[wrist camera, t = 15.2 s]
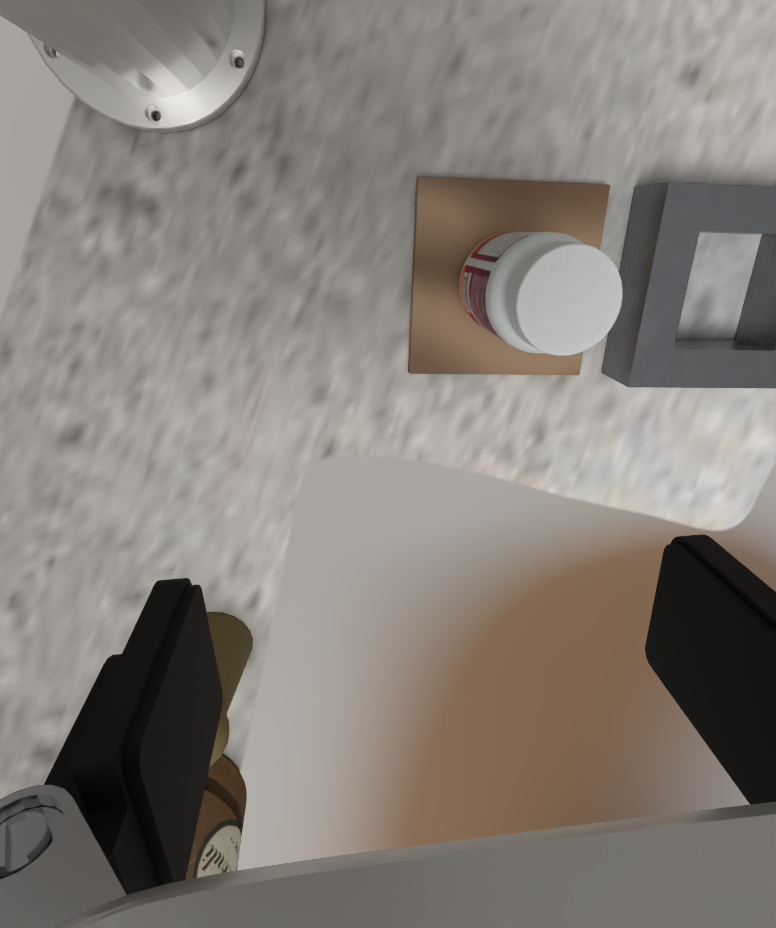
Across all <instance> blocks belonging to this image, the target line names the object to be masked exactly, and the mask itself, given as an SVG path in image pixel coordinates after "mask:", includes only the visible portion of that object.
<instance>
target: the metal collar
mask: <svg viewBox="0 0 776 928" xmlns="http://www.w3.org/2000/svg"><path fill="white" fill-rule="evenodd" d="M699 232H711V233H740V234H763V235H762V239H761V242H760V246H759V250H758V254H757V257H756V261H755V265H754V269H753V273H752V276H751V280H750V284H749V288H748V291H747V295H746V299H745V303H744V307H743V310H742V314H741V318H740V322H739V325H738V329H737V333H736V337H735V340H727V339H676V334H677V330H678V325H679V321H680V316H681V312H682V308H683V303H684V299H685V294H686V290H687V285H688V281H689V276H690V272H691V267H692V263H693V259H694V254H695V250H696V245H697V241H698V236H699ZM619 274H620V277H621V281H622V293H623V295H622V303H621V308H620V311H619V314H618V316H617V319H616V321H615V323H614V324H613V326H612V328H611V329H610V330H609V333H608V339H607V345H606V350H605V356H604V361H603V367H602V373H603V374H605V375H607V376H609V377H610V378H612V379H614V380H616V381H618V382H620V383H622V384H623V385H625V386H627V387H682V388H776V187H764V186H741V185H718V184H695V183H672V182H668V183H661V184H653V185H646V186H639V187H635V188H634V194H633V199H632V205H631V210H630V216H629V222H628V227H627V233H626V238H625V244H624V250H623V255H622V261H621V266H620V272H619Z"/></svg>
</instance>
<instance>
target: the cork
mask: <svg viewBox="0 0 776 928" xmlns="http://www.w3.org/2000/svg"><path fill="white" fill-rule="evenodd" d="M207 618H208V623H209V627H210V632H211V637H212V642H213V647H214V652H215V657H216V662H217V667H218V672H219V677H220V682H221V687H222V695H223V702H222V710H221V715H220V720H219V725H218V729H217V734H216V739H215V743H214V748H213V753H212V757H211V762H210V766H212V765H213V764H214V763H215V762H216V761H217V760H218V759H219V758H220V757H221V755H222V753H223V751H224V749H225V747H226V745H227V743H228V738H229V720H228V718H227V715H226V714H227V711H228V709H229V706H230V704H231V701H232V699H233V696H234V693H235V691H236V688H237V686H238V683H239V681H240V678H241V676H242V673H243V671H244V668H245V666H246V663H247V660H248V658H249V655H250V653H251V650H252V644H253V639H252V636H251V633H250V630H249V629H248V628H247V626H246V625H245V624H244V623H243V622H242V621H240V620H239V619H237V618H236V617H234V616H231V615H228V614H225V613H219V612H208V613H207Z"/></svg>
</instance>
